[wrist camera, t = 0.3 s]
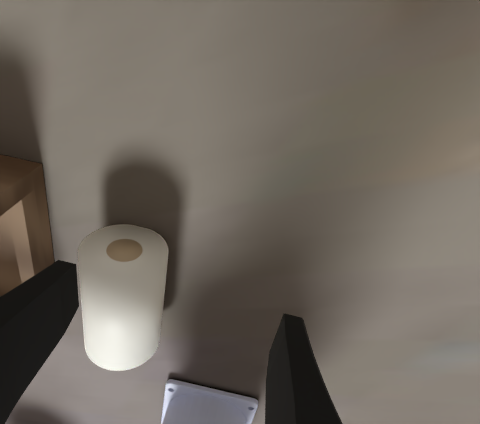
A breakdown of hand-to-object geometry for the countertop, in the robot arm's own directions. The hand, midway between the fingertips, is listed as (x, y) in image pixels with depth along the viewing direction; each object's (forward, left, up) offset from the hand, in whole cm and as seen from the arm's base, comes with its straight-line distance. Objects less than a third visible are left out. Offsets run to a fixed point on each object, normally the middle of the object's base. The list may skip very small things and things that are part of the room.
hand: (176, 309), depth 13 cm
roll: (-9, +5, -7) cm, 12 cm away
